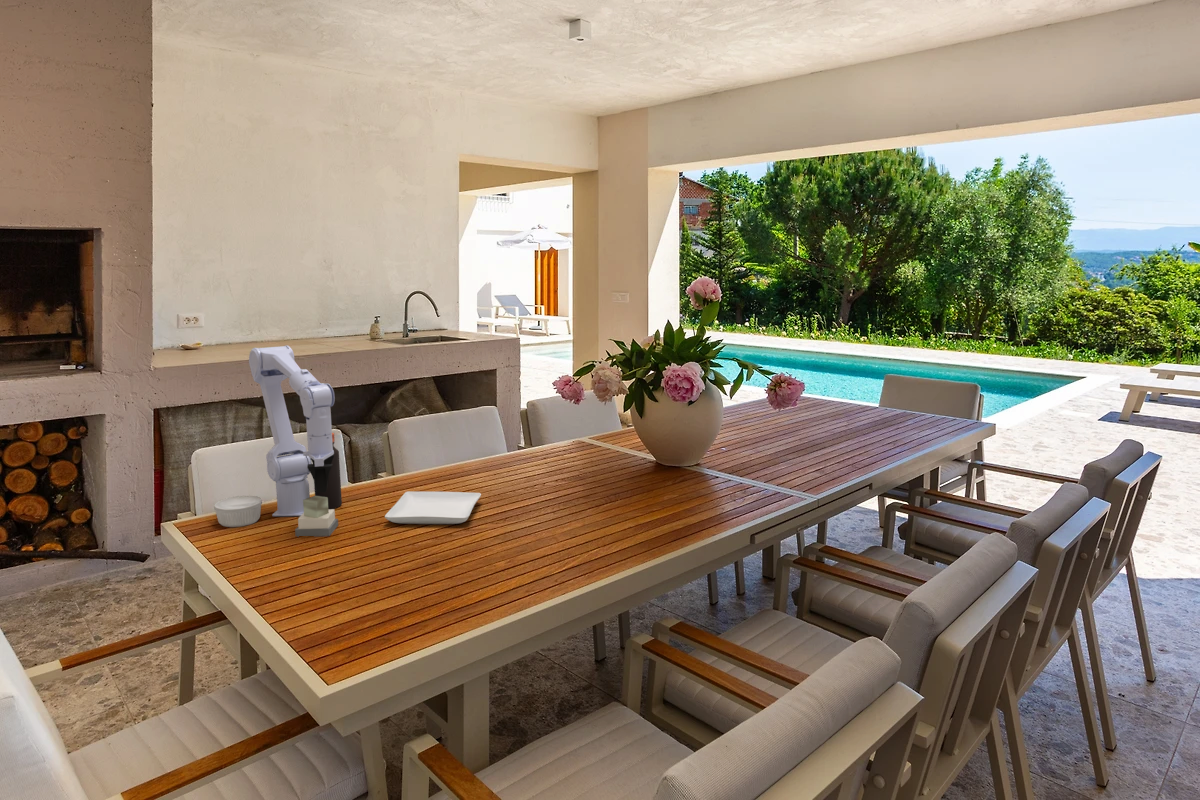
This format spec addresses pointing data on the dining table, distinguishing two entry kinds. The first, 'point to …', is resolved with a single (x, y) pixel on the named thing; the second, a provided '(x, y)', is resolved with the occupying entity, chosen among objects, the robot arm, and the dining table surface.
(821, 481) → the dining table surface
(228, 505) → the ramekin
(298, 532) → the charcoal slab
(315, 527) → the cream slab
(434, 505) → the salad plate
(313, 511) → the sage cube
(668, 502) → the dining table surface
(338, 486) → the bottle
